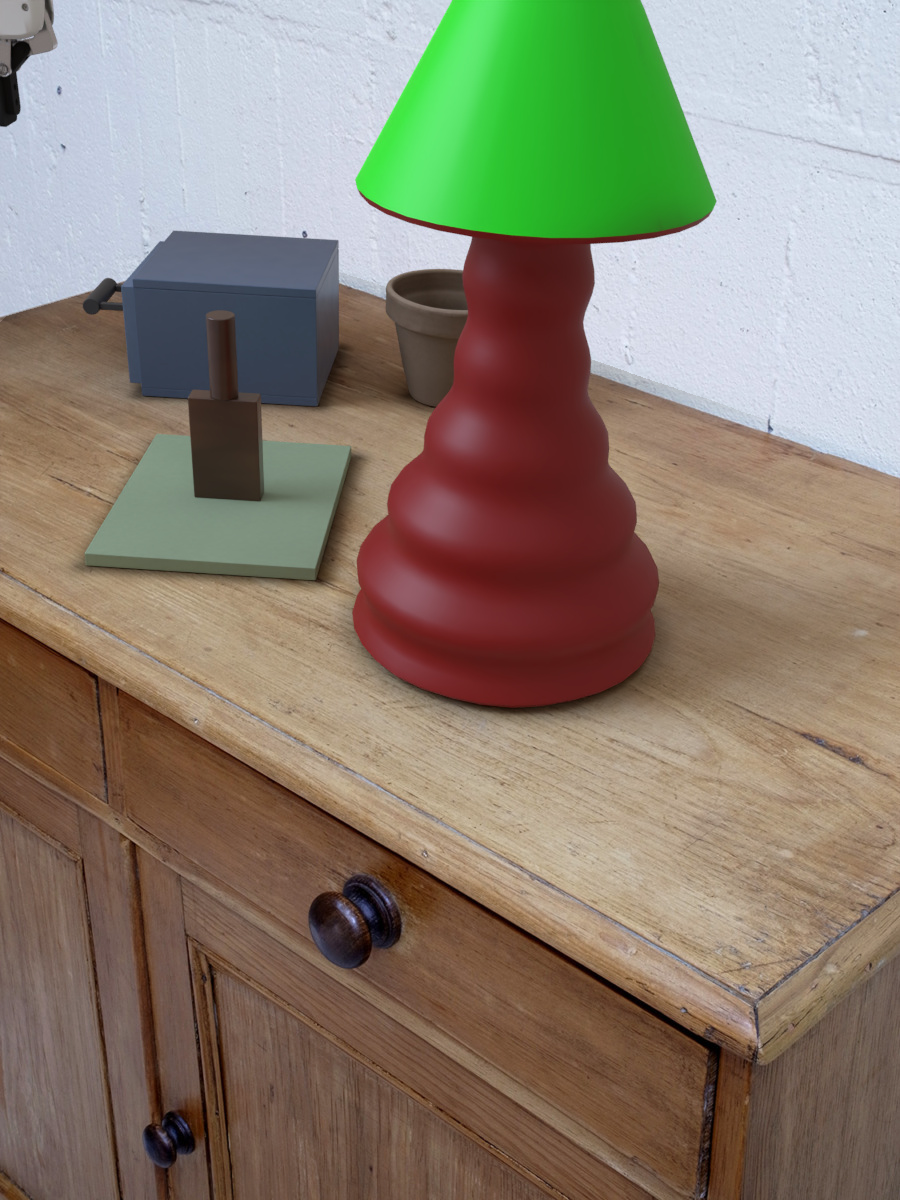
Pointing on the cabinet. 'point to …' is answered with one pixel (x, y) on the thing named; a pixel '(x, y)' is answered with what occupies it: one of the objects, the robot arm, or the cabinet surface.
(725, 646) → the cabinet surface
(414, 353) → the flower pot
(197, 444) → the paddle
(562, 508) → the table lamp
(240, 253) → the cabinet
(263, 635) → the cabinet surface
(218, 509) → the mat
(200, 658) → the cabinet surface
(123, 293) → the drawer
